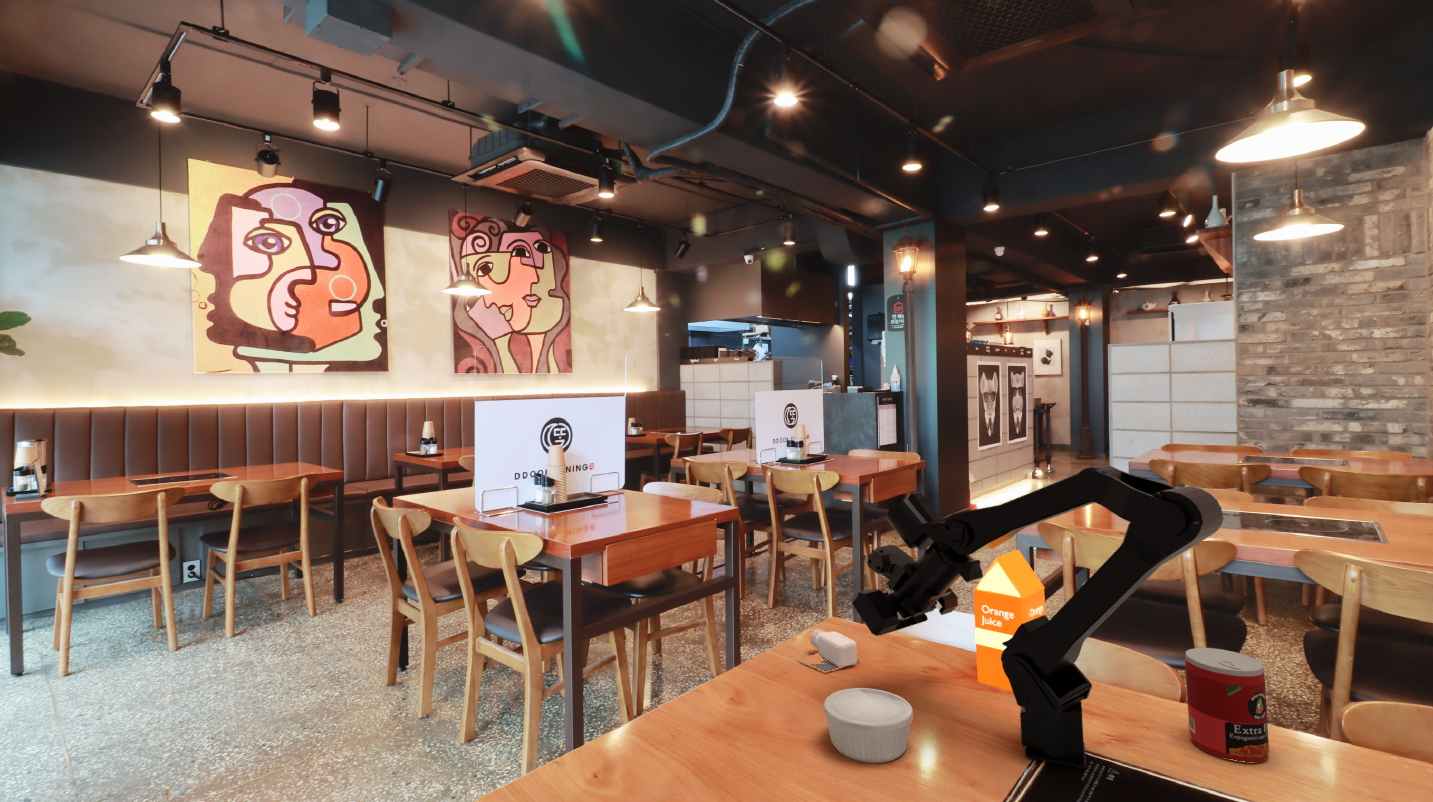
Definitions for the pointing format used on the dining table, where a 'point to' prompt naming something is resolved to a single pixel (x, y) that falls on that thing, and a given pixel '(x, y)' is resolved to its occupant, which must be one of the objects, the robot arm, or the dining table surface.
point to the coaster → (826, 665)
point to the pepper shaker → (834, 647)
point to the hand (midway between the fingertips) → (879, 632)
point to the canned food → (1227, 704)
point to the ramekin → (868, 724)
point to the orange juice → (1003, 612)
